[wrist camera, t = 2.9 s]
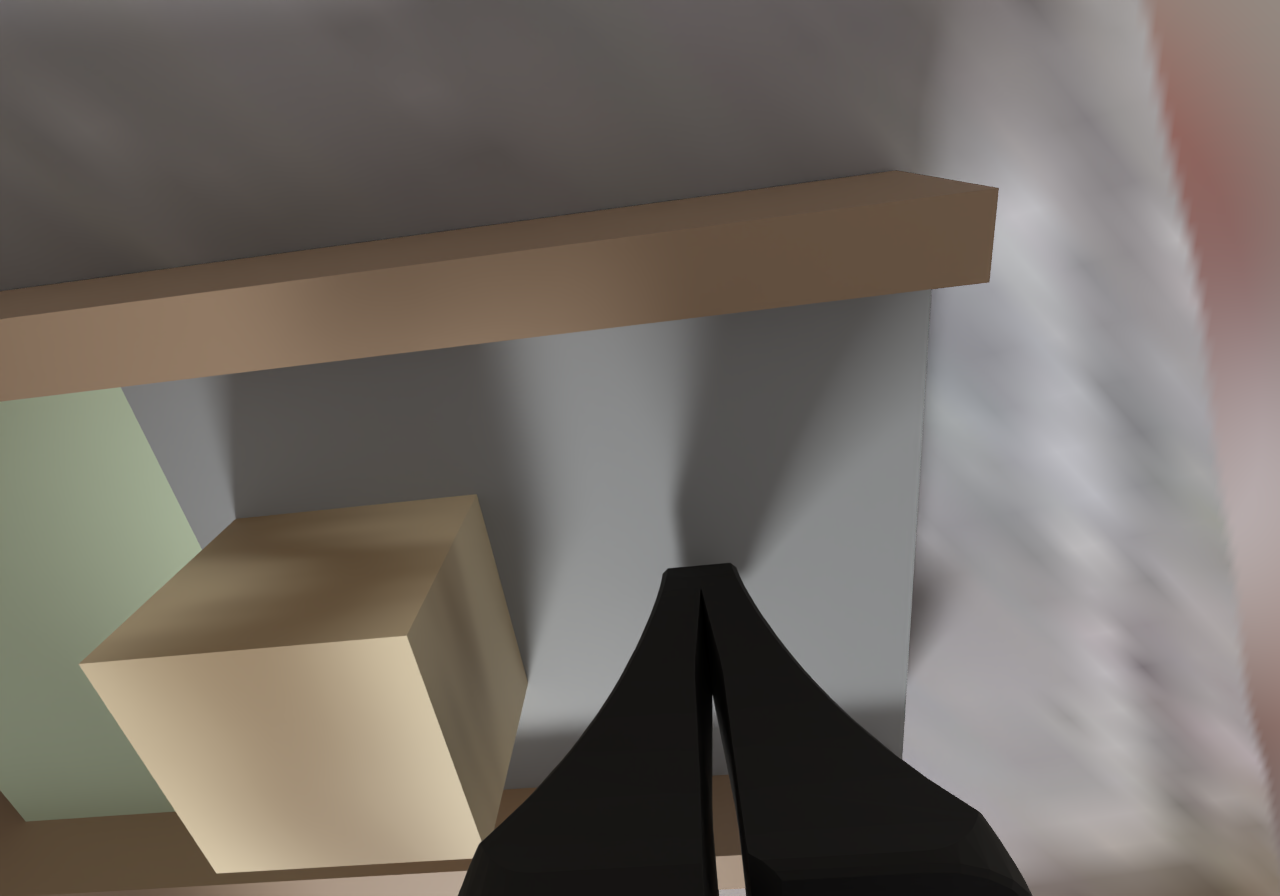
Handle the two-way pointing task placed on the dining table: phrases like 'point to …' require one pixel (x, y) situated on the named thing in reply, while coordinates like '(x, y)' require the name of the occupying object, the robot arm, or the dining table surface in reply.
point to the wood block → (326, 687)
